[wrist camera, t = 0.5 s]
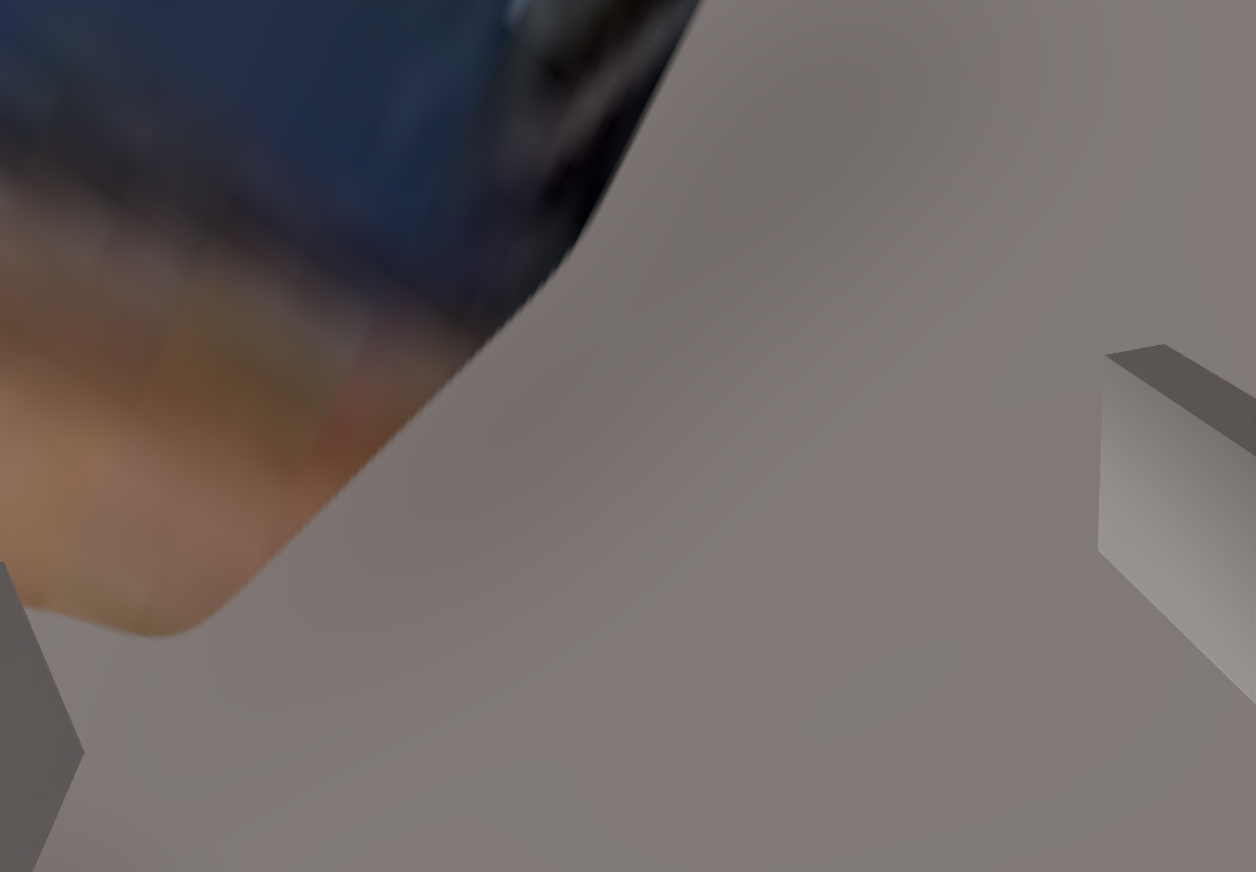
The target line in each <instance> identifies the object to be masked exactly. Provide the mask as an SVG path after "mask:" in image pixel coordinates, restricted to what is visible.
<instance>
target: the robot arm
mask: <svg viewBox="0 0 1256 872" xmlns="http://www.w3.org/2000/svg"><path fill="white" fill-rule="evenodd" d="M1103 385H1104V386H1103V413H1102V442H1101V443H1102V444H1101V472H1100V502H1099V532H1098V551H1099V552H1100V553H1101V554H1102V555H1103V556H1104V557H1106V558H1107V559H1108V560H1109V561H1110V562H1111V563H1112V564H1113V565H1114V566H1115V567H1116V568H1117V569H1118V570H1119V571H1120V572H1121V573H1122V574H1123V575H1124V576H1125V577H1126V578H1127V579H1128V580H1129V581H1130V582H1131V583H1132V584H1133V585H1134V586H1135V587H1136V588H1137V589H1138V590H1139V591H1140V592H1141V593H1142V594H1143V595H1144V596H1145V597H1146V598H1147V599H1149V600H1150V601H1151V602H1152V603H1153V604H1154V605H1155V606H1156V607H1157V608H1158V609H1159V610H1160V611H1161V612H1162V613H1163V614H1164V615H1165V616H1166V617H1167V618H1168V619H1169V620H1170V621H1171V622H1172V623H1173V624H1174V625H1175V626H1176V627H1177V628H1178V629H1179V630H1180V631H1181V632H1182V633H1183V634H1184V635H1185V636H1186V637H1188V639H1189V640H1190V641H1192V643H1194V644H1195V645H1196V646H1197V647H1198V648H1199V649H1200V650H1201V651H1202V652H1203V653H1204V654H1205V655H1206V656H1207V657H1208V658H1209V659H1210V660H1211V661H1212V662H1213V663H1214V664H1215V665H1216V666H1217V667H1218V668H1219V669H1220V670H1221V671H1222V672H1223V673H1224V674H1225V675H1227V677H1228V678H1229V679H1230V680H1232V681H1233V682H1234V684H1235V685H1236V686H1238V687H1239V688H1240V689H1241V690H1242V691H1243V692H1244V693H1245V694H1246V695H1247V696H1248V697H1249V698H1250V699H1251V700H1252V701H1253V702H1254V703H1255V704H1256V399H1255V398H1254V397H1252V396H1250V395H1249V394H1247V393H1245V392H1244V391H1242V390H1240V389H1238V388H1237V387H1235V386H1234V385H1232V384H1230V383H1229V382H1227V381H1225V380H1223V379H1222V378H1220V377H1219V376H1217V375H1215V374H1214V373H1212V372H1210V371H1209V370H1207V369H1205V368H1203V367H1202V366H1200V365H1199V364H1197V363H1195V362H1194V361H1192V360H1190V359H1189V358H1187V357H1185V356H1183V355H1182V354H1180V353H1179V352H1177V351H1175V350H1174V349H1172V348H1170V347H1168V346H1167V345H1165V344H1162V345H1157V346H1152V347H1146V348H1141V349H1135V350H1130V351H1125V352H1119V353H1114V354H1109V355H1105V356H1104V383H1103ZM83 755H84V750H83V748H82V745H81V743H80V740H79V738H78V736H77V733H76V731H75V729H74V726H73V724H72V722H71V719H70V717H69V714H68V712H67V710H66V707H65V705H64V703H63V700H62V698H61V696H60V693H59V691H58V689H57V686H56V684H55V681H54V679H53V677H52V675H51V672H50V670H49V667H48V665H47V663H46V660H45V658H44V655H43V653H42V651H41V649H40V646H39V644H38V641H37V639H36V637H35V634H34V632H33V630H32V627H31V625H30V622H29V620H28V618H27V615H26V614H25V611H24V608H23V606H22V604H21V601H20V599H19V597H18V594H17V592H16V589H15V587H14V585H13V582H12V580H11V578H10V575H9V573H8V571H7V568H6V566H5V564H4V562H0V872H33V869H34V867H35V865H36V862H37V860H38V858H39V856H40V853H41V851H42V848H43V846H44V844H45V842H46V839H47V837H48V835H49V833H50V830H51V828H52V826H53V823H54V821H55V819H56V817H57V814H58V812H59V810H60V807H61V805H62V803H63V800H64V798H65V796H66V794H67V791H68V789H69V787H70V784H71V782H72V780H73V778H74V775H75V773H76V771H77V768H78V766H79V763H80V761H81V759H82V757H83Z"/></svg>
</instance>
